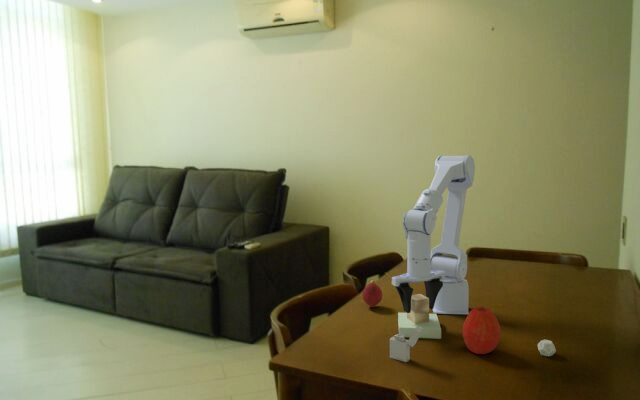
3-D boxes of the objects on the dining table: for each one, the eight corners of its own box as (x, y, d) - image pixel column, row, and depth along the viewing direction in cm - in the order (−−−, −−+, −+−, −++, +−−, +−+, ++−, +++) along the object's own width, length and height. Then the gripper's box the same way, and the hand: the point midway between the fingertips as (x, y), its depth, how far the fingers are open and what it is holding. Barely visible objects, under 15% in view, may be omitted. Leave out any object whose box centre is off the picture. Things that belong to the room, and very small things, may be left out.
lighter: (389, 357, 98) (389, 322, 97) (392, 354, 99) (392, 320, 98) (419, 366, 94) (419, 330, 93) (422, 362, 95) (423, 327, 94)
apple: (496, 363, 94) (497, 315, 93) (457, 354, 99) (458, 308, 98) (503, 348, 101) (504, 303, 100) (466, 340, 106) (467, 297, 104)
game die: (547, 359, 96) (548, 346, 95) (533, 352, 99) (533, 339, 99) (559, 356, 97) (559, 343, 97) (544, 349, 100) (545, 336, 100)
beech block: (420, 316, 115) (420, 293, 115) (429, 321, 112) (429, 298, 111) (407, 318, 114) (406, 295, 113) (415, 323, 110) (415, 300, 110)
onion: (381, 311, 126) (381, 284, 125) (361, 310, 127) (361, 283, 126) (383, 304, 131) (382, 278, 131) (363, 303, 133) (363, 277, 132)
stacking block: (436, 324, 117) (436, 313, 117) (441, 340, 107) (441, 329, 107) (398, 323, 118) (398, 312, 118) (399, 339, 109) (399, 327, 108)
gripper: (433, 251, 117) (433, 300, 118) (385, 256, 112) (385, 308, 113) (450, 257, 110) (449, 309, 112) (400, 263, 105) (400, 318, 107)
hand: (418, 309), depth 112 cm, fingers open, 6 cm apart
